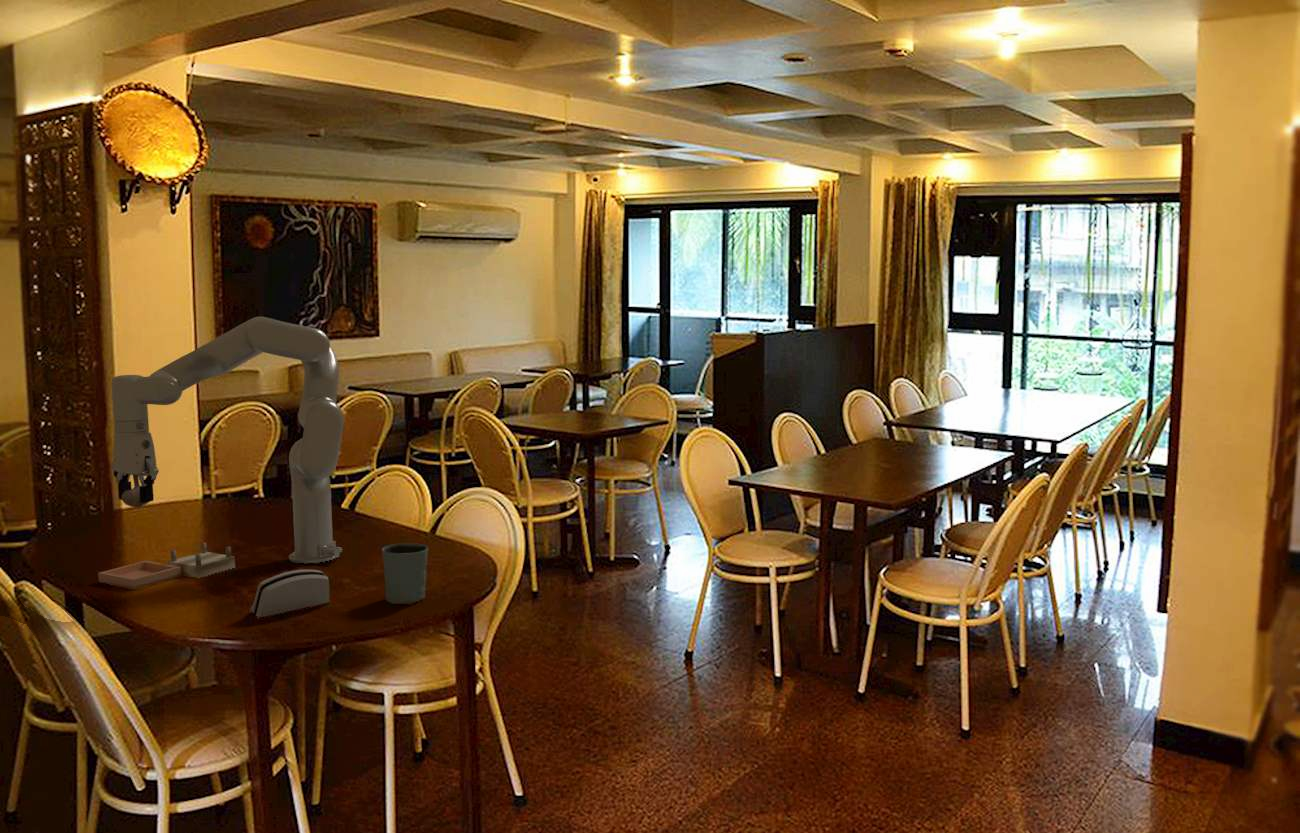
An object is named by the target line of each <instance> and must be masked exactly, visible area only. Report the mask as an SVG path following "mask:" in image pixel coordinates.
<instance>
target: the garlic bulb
mask: <svg viewBox="0 0 1300 833" xmlns="http://www.w3.org/2000/svg"><path fill="white" fill-rule="evenodd" d="M132 478H133V479H132V480H133V488H132V489H131V490H127V491H125V492H124V493H123V494H122V500H121V501H122V502H123V504H125V505H127V506H129V507H132V508H138V509H139V508H142V507H143V506H145V505H147V504H149V503H150V502H145V503H141V501H140V486H141V484H140V480H139V478H138V476H137V475H132Z"/></svg>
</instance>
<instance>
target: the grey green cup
mask: <svg viewBox="0 0 1300 833" xmlns="http://www.w3.org/2000/svg"><path fill="white" fill-rule="evenodd" d="M428 553H429V547H428V546H427V545H425V544H422V543H417V542H416V543H412V542H411V543H410V542H405V543H403V542H402V543H401V542H400V543H394V544H390V545H387V546H386V545H385V546H384V547H382V548H381V556H382V563H383V572H384V573H383V574H384V582H385V586H384V587H385V599H386V600H385V601H386V602H387V601H389V602H392V603H411V602H415V601H419V600H421V599H423V598H424V597H425V598H426V580H427V566H428V555H429V554H428ZM425 598H424V599H425Z"/></svg>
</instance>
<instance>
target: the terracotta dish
mask: <svg viewBox="0 0 1300 833" xmlns="http://www.w3.org/2000/svg"><path fill="white" fill-rule="evenodd" d="M97 574H98V583H99V582H101V583H106V584H110V585H109V586H111V585H115V586H114V587H116V586H120V587H119V588H121V587H125V588H124V589H126V588H130V589H129V590H131V589H137V588H140V587H144V586H147V585H151V584H154V583H158V582H162V581H165V582H167V581H166V580H169V581H171V580H170V579H172V580H174V579H173V578H176V579H178V578H177V577H180V578H182V575H181V567H178V566H172V565H168V563H167V564H166V563H161V562H155V561H149V560H143V561H139V562H135V563H131V564H127V565H124V566H119V567H117V568H115V567H114V568H112V569H108V570H104V571H100V572H98V573H97ZM101 583H100V584H101ZM162 583H163V582H162ZM106 584H105V585H106ZM158 584H159V583H158ZM151 586H152V585H151ZM144 588H145V587H144ZM137 590H138V589H137Z"/></svg>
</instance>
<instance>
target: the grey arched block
mask: <svg viewBox="0 0 1300 833" xmlns="http://www.w3.org/2000/svg"><path fill="white" fill-rule="evenodd" d="M328 602H329V603H330V580H329V577H328V576H327V575H326V574H325V573H324V572H323V571H322V570H318V569H295V570H291V571H285V572H282V573H279V574H276V575H273V576H272V577H269V578H266V579H264V580H261V582H259V584H258V586H257V589H256V593H255V597H254V601H253V604H252V605H251V606H250V612H253V613H252V614H255V617H256V616H257V617H263V616H268V615H273V616H275V615H274V614H278V615H280V614H279V613H282V614H284V613H283V612H286V611H291V610H295V609H300V608H303V607H309V606H314V605H319V604H323V603H328ZM250 612H249V613H250ZM257 617H256V618H257ZM268 617H269V616H268Z"/></svg>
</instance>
